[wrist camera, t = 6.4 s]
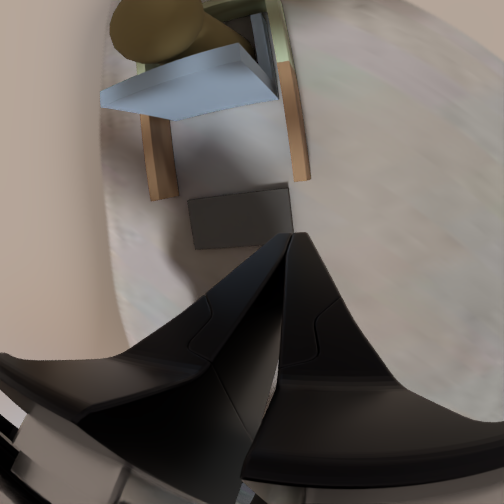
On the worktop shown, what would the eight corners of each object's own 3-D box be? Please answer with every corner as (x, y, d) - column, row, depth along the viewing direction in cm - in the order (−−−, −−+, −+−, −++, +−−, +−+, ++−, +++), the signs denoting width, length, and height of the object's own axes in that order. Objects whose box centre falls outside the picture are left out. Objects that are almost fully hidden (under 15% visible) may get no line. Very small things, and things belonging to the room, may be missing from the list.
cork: (209, 114, 22) (117, 86, 12) (172, 64, 22) (80, 23, 11) (272, 68, 20) (216, -1, 10) (229, 19, 19) (159, -50, 9)
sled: (278, 99, 20) (241, 60, 12) (176, 121, 23) (100, 107, 14) (265, 20, 19) (225, -41, 10) (169, 47, 21) (100, 12, 13)
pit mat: (294, 241, 23) (293, 243, 23) (197, 248, 25) (195, 249, 25) (288, 188, 22) (287, 188, 22) (189, 200, 24) (187, 200, 24)
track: (311, 178, 21) (306, 180, 19) (170, 196, 25) (150, 201, 22) (281, 3, 18) (273, -15, 15) (154, 39, 21) (135, 29, 18)
